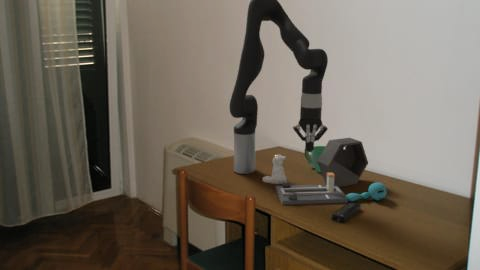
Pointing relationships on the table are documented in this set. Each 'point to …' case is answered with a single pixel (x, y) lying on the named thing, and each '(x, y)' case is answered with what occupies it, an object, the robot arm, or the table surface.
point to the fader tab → (330, 181)
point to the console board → (309, 194)
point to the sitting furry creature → (276, 171)
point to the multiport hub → (346, 212)
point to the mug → (315, 157)
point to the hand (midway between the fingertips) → (309, 151)
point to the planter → (343, 161)
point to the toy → (370, 193)
